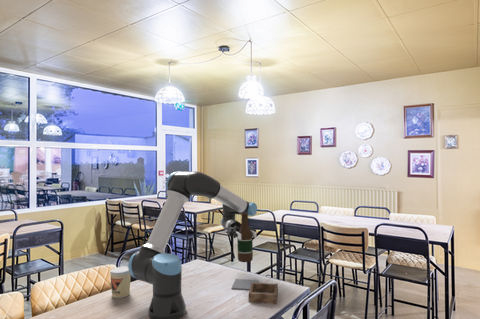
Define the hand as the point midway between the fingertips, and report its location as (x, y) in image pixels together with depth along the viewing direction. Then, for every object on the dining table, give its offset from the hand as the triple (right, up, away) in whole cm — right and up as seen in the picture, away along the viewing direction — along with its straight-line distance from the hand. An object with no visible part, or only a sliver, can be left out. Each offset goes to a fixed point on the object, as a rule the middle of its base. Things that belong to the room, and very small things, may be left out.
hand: (248, 236), depth 156 cm
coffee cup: (-61, -27, -6) cm, 67 cm away
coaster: (-1, -26, +5) cm, 26 cm away
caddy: (+7, -26, -10) cm, 28 cm away
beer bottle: (-1, -13, +5) cm, 14 cm away
